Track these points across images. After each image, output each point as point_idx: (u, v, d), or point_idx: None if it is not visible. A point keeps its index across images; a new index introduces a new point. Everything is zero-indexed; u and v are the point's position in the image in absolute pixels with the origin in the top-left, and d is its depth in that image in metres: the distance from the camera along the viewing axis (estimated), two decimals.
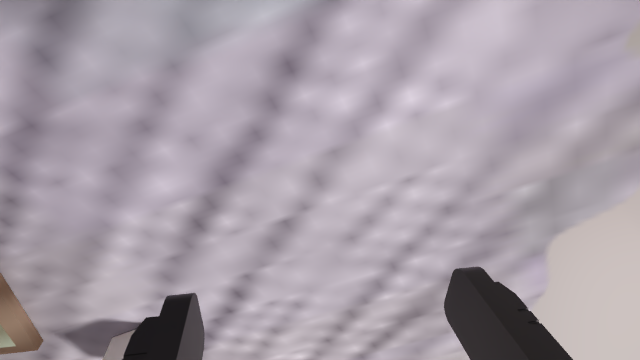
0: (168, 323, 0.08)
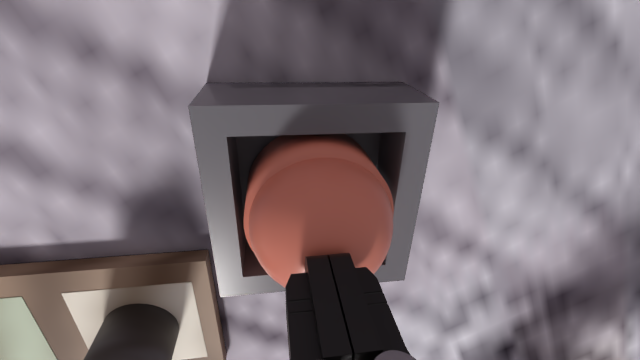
0: (318, 276, 0.10)
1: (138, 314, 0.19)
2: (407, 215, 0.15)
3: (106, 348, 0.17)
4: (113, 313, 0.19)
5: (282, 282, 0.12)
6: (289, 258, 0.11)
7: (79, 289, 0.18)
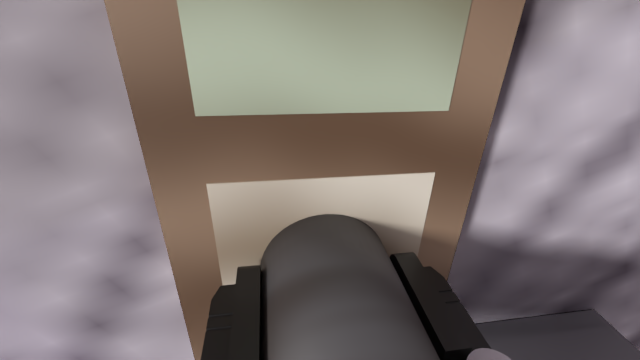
0: (245, 288, 0.09)
1: None
2: None
3: None
4: None
5: None
6: None
7: (434, 198, 0.11)
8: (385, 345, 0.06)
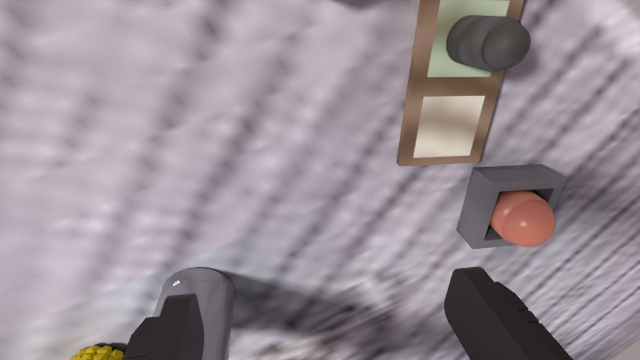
0: (168, 323, 0.08)
1: None
2: (503, 243, 0.42)
3: None
4: None
5: (535, 220, 0.36)
6: (549, 223, 0.36)
7: (484, 104, 0.36)
8: (510, 17, 0.27)
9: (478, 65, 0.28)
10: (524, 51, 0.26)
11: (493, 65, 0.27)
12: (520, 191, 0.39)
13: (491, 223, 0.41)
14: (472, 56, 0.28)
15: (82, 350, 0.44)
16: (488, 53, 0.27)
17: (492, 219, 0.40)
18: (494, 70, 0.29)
